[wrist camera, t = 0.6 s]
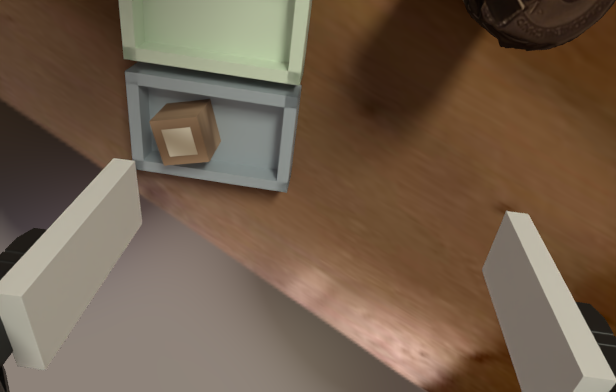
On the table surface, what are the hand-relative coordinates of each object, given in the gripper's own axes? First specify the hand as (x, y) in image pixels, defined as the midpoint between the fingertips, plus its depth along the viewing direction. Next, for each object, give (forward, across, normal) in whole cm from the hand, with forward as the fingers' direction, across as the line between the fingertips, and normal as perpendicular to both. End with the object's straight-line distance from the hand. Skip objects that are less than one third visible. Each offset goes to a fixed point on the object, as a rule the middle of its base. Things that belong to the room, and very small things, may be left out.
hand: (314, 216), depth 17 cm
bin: (+24, -10, -8) cm, 28 cm away
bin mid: (+25, -10, +2) cm, 26 cm away
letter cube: (+24, -12, -8) cm, 28 cm away
